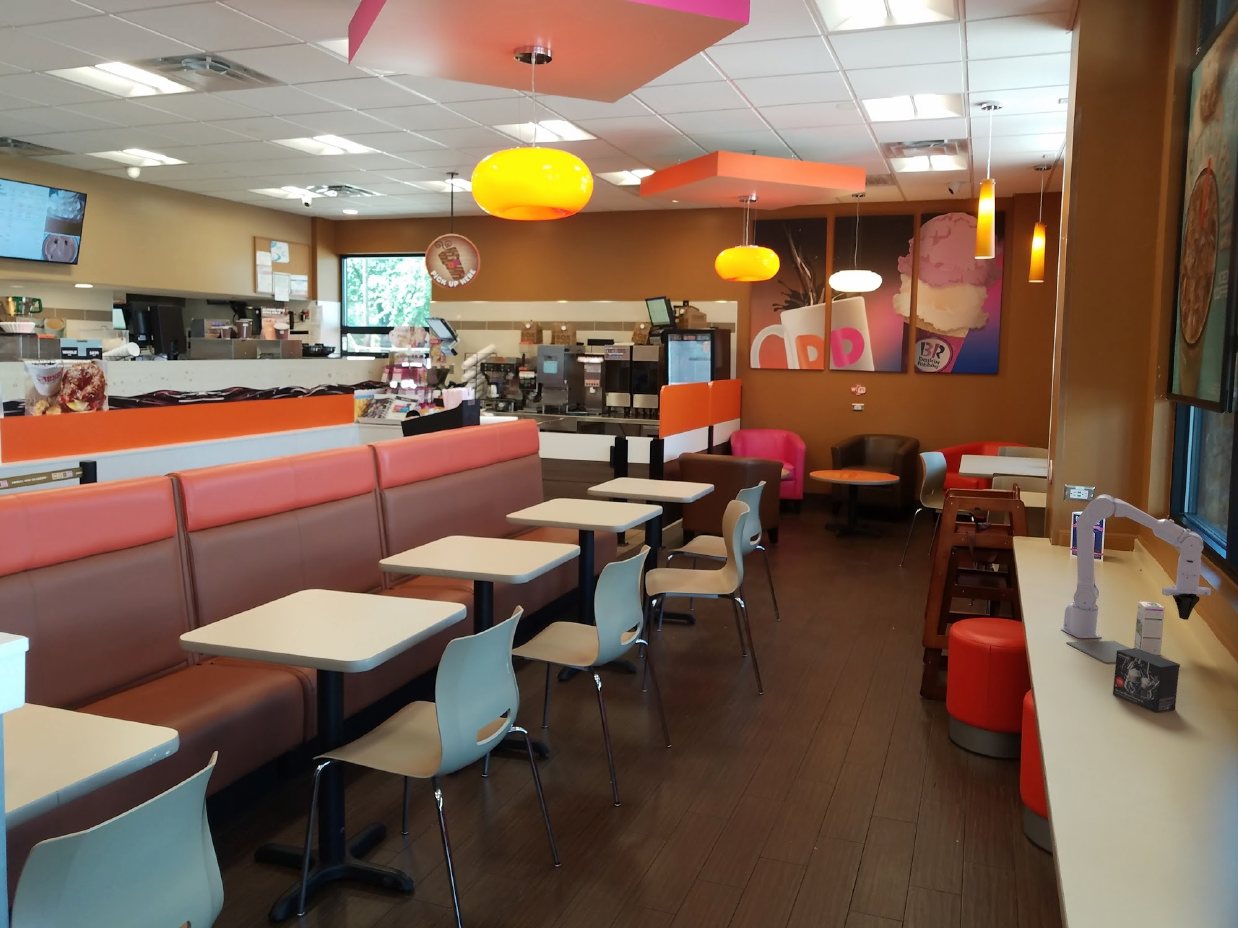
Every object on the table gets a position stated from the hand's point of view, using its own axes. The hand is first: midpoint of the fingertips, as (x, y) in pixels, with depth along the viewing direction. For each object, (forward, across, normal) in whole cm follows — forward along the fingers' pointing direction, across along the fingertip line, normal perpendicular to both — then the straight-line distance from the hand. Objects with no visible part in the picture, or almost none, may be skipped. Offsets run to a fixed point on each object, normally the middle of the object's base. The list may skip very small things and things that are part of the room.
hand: (1183, 618), depth 280 cm
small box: (+10, -41, -37) cm, 56 cm away
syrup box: (+10, -11, 0) cm, 15 cm away
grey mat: (+10, -23, 0) cm, 25 cm away
